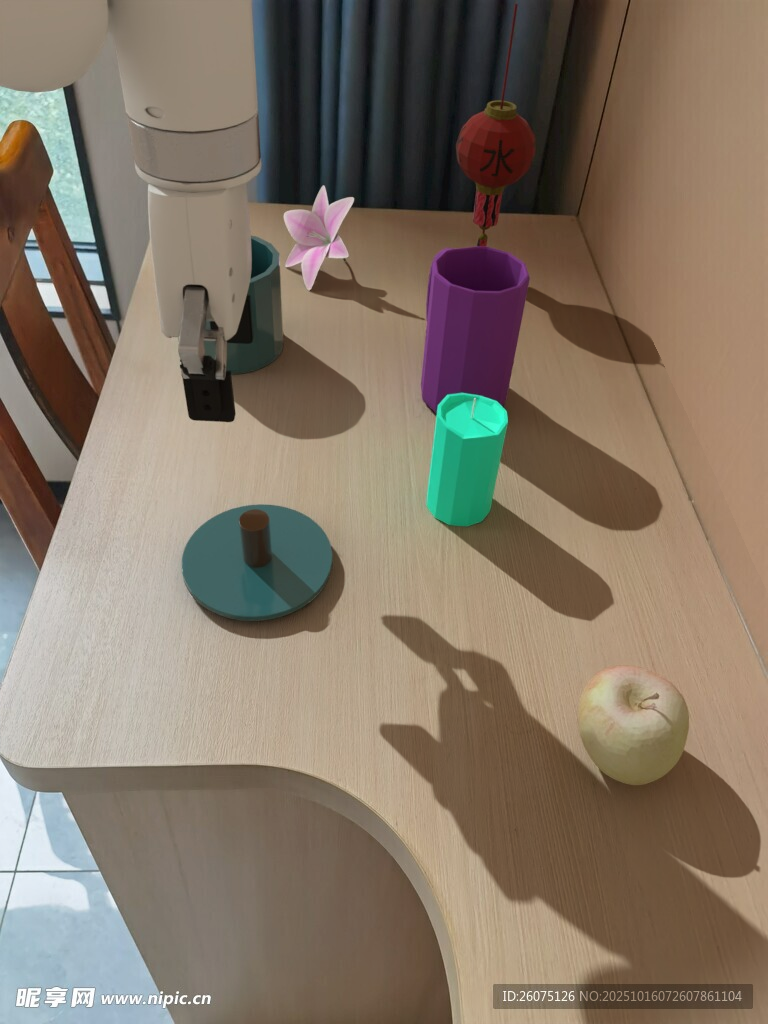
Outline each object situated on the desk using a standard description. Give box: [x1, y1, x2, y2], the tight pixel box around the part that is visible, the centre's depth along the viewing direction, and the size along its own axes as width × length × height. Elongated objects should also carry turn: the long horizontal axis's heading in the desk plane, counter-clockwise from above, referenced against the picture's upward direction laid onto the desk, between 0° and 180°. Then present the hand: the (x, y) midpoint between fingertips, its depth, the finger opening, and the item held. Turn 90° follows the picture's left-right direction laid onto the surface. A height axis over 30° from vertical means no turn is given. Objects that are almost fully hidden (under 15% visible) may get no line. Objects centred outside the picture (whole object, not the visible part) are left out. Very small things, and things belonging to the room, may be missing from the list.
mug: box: [420, 245, 531, 414], centre depth 82 cm, size 9×16×15 cm, turn 18°
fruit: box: [576, 665, 690, 786], centre depth 54 cm, size 8×7×8 cm
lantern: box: [455, 2, 537, 247], centre depth 95 cm, size 10×10×30 cm
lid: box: [180, 503, 333, 622], centre depth 65 cm, size 12×12×6 cm
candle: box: [426, 393, 509, 527], centre depth 69 cm, size 6×6×12 cm
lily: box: [283, 185, 355, 291], centre depth 100 cm, size 12×12×10 cm
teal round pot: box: [177, 235, 284, 375], centre depth 86 cm, size 11×11×10 cm
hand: (223, 377), depth 60 cm, fingers open, 9 cm apart
